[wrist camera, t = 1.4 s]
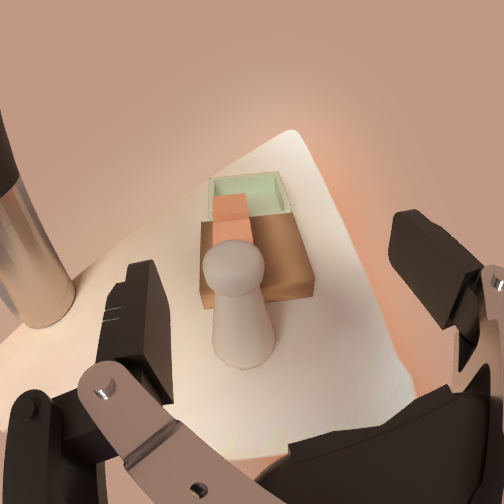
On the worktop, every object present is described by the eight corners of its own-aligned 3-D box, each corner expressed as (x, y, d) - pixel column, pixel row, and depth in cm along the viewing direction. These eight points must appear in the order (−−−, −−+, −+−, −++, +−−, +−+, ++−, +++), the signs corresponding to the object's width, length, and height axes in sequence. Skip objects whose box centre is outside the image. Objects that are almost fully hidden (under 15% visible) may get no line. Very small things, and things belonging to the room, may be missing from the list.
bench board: (204, 309, 34) (199, 291, 32) (204, 240, 43) (201, 222, 41) (312, 296, 35) (314, 277, 33) (291, 230, 44) (292, 212, 42)
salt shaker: (216, 380, 28) (184, 288, 19) (215, 330, 32) (191, 231, 24) (279, 374, 28) (280, 279, 19) (272, 326, 32) (269, 223, 24)
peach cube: (217, 242, 38) (212, 215, 36) (216, 222, 41) (212, 196, 38) (250, 238, 38) (248, 211, 36) (247, 219, 41) (245, 192, 39)
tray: (212, 236, 44) (208, 216, 42) (211, 197, 52) (209, 178, 49) (291, 228, 44) (291, 207, 42) (278, 190, 52) (278, 171, 50)
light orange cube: (218, 275, 34) (212, 246, 31) (217, 250, 37) (212, 222, 34) (255, 271, 34) (253, 242, 32) (251, 246, 37) (249, 218, 35)
